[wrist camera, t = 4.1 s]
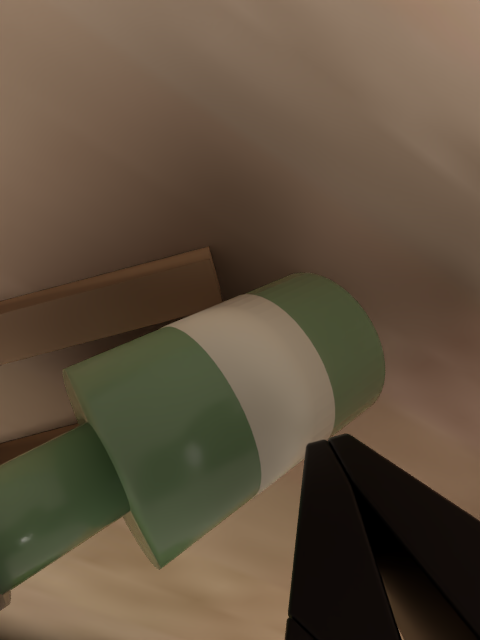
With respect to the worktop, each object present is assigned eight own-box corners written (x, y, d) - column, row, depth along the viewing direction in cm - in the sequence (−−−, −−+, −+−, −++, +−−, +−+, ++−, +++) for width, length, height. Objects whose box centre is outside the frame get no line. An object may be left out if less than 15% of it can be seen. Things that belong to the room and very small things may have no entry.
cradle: (253, 410, 15) (265, 463, 13) (-47, 489, 15) (-102, 559, 13) (208, 246, 13) (210, 266, 10) (-150, 341, 13) (-247, 387, 10)
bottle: (391, 438, 11) (22, 764, 6) (279, 387, 15) (-6, 562, 10) (378, 277, 10) (-143, 539, 4) (256, 267, 13) (-99, 401, 8)
